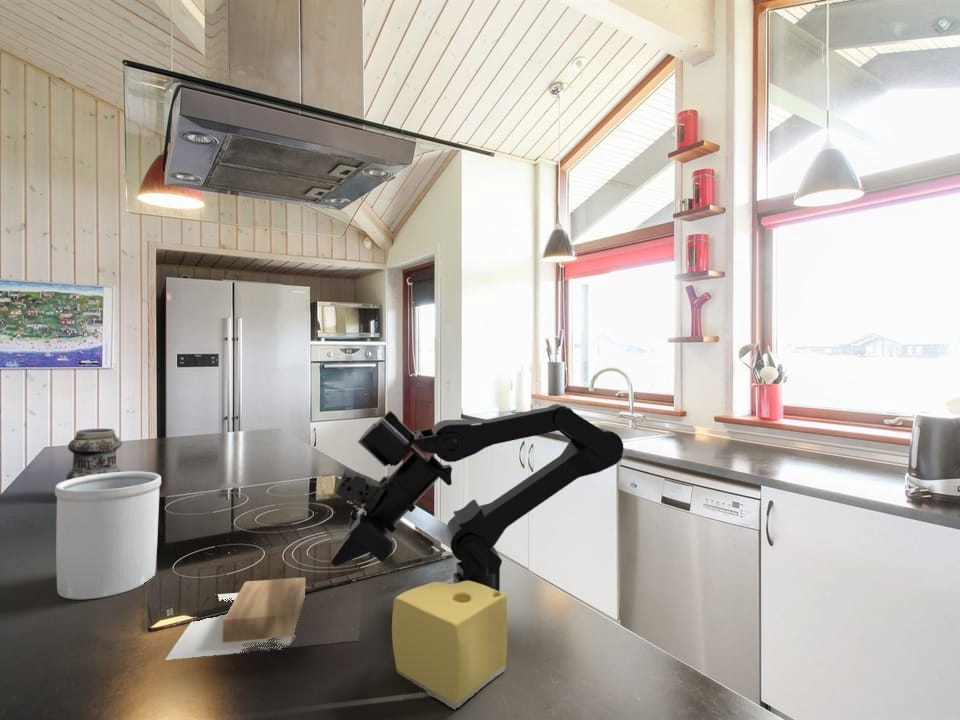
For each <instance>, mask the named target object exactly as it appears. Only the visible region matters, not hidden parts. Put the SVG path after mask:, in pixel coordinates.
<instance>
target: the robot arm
mask: <svg viewBox="0 0 960 720" xmlns="http://www.w3.org/2000/svg"><path fill="white" fill-rule="evenodd" d="M555 432H559V433H561V435H563V436H564V437H565V438H566V439H568V440H570V441H569V442H568V444H567V445H566V447H565V448H564V449H563V451H562V453H560V454H559V456H557V457H556V458H555V459H553V460H552V461H550V462H549V463H547V464H545V466H543V467H541V468H539V469H538V470H537V471H535V472H534V473H533V474H531V475H530V476H528V477H526V478H525V479H524V480H522V481H521V482H519V483H518V484H516V485H515V486H514V487H512V488H511V489H509V490H508V491H506V492H505V493H503V494H501V495H500V496H499V497H497V498H496V499H494V500H493V501H491V502H489V503H486V504H481V505H479V503H478V501H476V499H472V500H470V501H469V502H468V503H467V504H466V505H464V507H463V508H461V509H459V510H455V511H453V516H452V518H451V519H449V521H448V523H447V526H446V530H445V536H446V539H447V541H448V545H449V547H450V550H451V553H452V555H453V556H454V557H455V559H456V560H458V562H456V572H455V573H453V581H452V582H453V583H452V584H454V583H459V582H462V581H472V582H476V583H479V584H482V585H485V586H487V587H490V588H492V589H494V590H497V591H499V592H501V589H500V588H501V587H500V586H501V584H500V583H501V580H500V578H501V573H500V572H501V566H502V563H503V560H502V558H501V557H500V555H499V553H498V551H497V550H496V547H495V546H496V544H497V542H498V541H499V539H501V537H502V535H503V534H504V532H505V531H506V530H507V528H508V527H510V526H511V525H513V524H514V523H515V522H516V521H518V520H520V519H521V518H523V517H524V516H525V515H527V514H528V513H530V512H531V511H533V510H534V509H536V508H537V507H538V506H539V505H541V504H543V503H544V502H546V501H547V500H548V499H550V498H551V497H553V496H554V495H555V494H557V493H558V492H560V491H561V490H563V489H564V488H566V487H567V486H569V485H570V484H571V483H573V482H574V481H576V480H577V479H579V478H582V477H586V476H589V475H594V474H598V473H601V472H603V471H604V470H606V469H609V468H611V467H613V466H615V465H617V464H618V463H620V461H621V460H622V458H623V456H624V455H623V453H624V442H623V441H622V438H621V436H619V434H618V433H616V432H614V431H611V430H607V429H605V428H603V427H599V426H596V425H594V424H593V423H591V422H590V421H588V420H586V419H585V418H583V417H582V416H580V415H579V414H577V413H576V412H574V411H573V409H572V408H570V407H569V406H566V405H563V404H559V403H558V404H557V403H556V404H554V403H553V404H552V405H550V406H549V405H548V406H547V407H543V408H536V409H531V410H528V411H527V410H526V411H523V412H522V411H521V412H517V413H512V414H508V415H502V416H499V417H493V418H488V419H443V420H441V421H439V422H437V423H436V424H434V426H433V427H432V428H427V429H422V430H415V431H411V430H410V429H409V428H408V427H407V426H406V425H405V424H404V423H403V422H402V421H401V420H400V419H399V418H398V417H397V415H396V414H395V413H394V412H393V410H388V411H387V413H385V415H383V416H382V417H381V418H379V420H378V421H376V422H373V424H372V425H371V426H370V427H368V428H367V430H366V431H365V432H364V433H363V434H362V435H361V436H360V438H359V439H358V440H357V443H358V444H359V445H360V446H361V447H362V448H364V449H365V451H367V452H368V453H369V454H370V455H371V456H372V457H373V458H375V459H376V460H377V461H378V462H379V463H380V464H381V465H382V466H383V467H387V466H389V465H390V466H391V467H392V466H393V467H396V466H398V464H400V463H401V462H402V461H403V460H404V461H403V462H402V463H401V464H400V465H399V466H398V467H397V468H396V470H395V471H393V472H392V474H390V476H389V475H386V476H385V475H383V477H382V478H381V479H380V480H377V479H374V478H372V477H371V476H368V475H365V474H364V473H361V472H358V471H356V470H353V469H350V468H345V469H344V471H343V473H342V475H341V477H340V480H339V482H338V483H337V486H336V489H335V491H334V493H335V494H336V495H337V496H338V497H339V496H340V497H341V498H347V499H350V500H353V501H354V503H355V504H356V505H358V504H361V508H360V509H359V510H358V512H357V511H355V510H354V509H352V510H351V514H350V521H349V530H348V531H347V533H346V535H345V536H344V538H343V540H342V542H341V543H340V544H339V547H338V548H337V549H336V551H335V552H334V555H333V556H332V558H331V560H330V563H331V564H332V565H333V566H334V567H338V566H340V565H343V564H345V563H347V562H350V561H353V560H355V559H357V558H359V557H362V556H365V555H366V554H371V555H372V556H373V557H375V558H376V559H377V560H378V561H379V562H381V563H384V562H385V561H386V560H387V559H388V558H389V556H391V555H392V553H393V552H394V551H393V548H394V547H393V545H394V544H393V533H394V532H395V531H396V530H397V524H398V523H399V522H400V521H401V519H403V517H404V516H405V515H406V514H407V513H408V512H410V513H412V512H414V510H415V509H416V508H417V507H416V503H417V502H418V501H419V500H420V499H421V498H422V497H423V495H424V494H425V493H427V491H428V490H429V489H430V488H431V487H432V486H433V485H434V484H435V483H436V482H437V481H438V479H440V480H442V481H443V483H445V484H446V485H447V486H451V485H452V472H453V467H452V466H451V464H442V463H441V462H440V461H439V460H438V459H437V458H436V457H435V456H434V455H436V456H437V457H438V458H439V459H441V460H442V461H444V462H447V463H453V462H454V463H455V462H459V461H461V460H464V459H466V458H468V457H471V456H474V455H475V454H478V453H479V452H481V451H482V450H484V449H486V448H488V447H491V446H494V445H497V444H502V443H506V442H512V441H517V440H520V439H525V438H531V437H535V436H541V435H544V434H548V433H555ZM413 445H415V446H413ZM416 447H417V448H418V449H419V450H420V451H421V452H422V453H427V455H424V454H422V453H421V452H420V451H419V450H418V449H417V448H416ZM410 452H412V453H410ZM409 453H410V454H409ZM408 454H409V456H408V457H407V455H408ZM433 454H434V455H433ZM405 458H406V459H405Z"/></svg>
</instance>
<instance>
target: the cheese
mask: <svg viewBox="0 0 960 720" xmlns="http://www.w3.org/2000/svg"><path fill="white" fill-rule="evenodd" d="M507 599H508V598H507V594H505V593H504V592H501V591H500V592H499V591H497V590H494V589H492V588H490V587H487V586H485V585H482V584H479V583H476V582H472V581H462V582H459V583H454V584H453V583H445V582H442V581H432V582H429V583H426V584H423V585H421V586H417V587H414V588H412V589H409V590H407V591H404V592H402V593H401V594H398V595H397V596H395V597H394V599H393V606H392V617H391V638H392V639H391V640H392V648H393V649H392V650H393V656H394V661H395V662H394V663H395V669H397V670H399V671H400V672H402V673H404V674H405V675H406V676H409V677H410V678H412V679H414V680H416V681H417V682H419V683H420V684H422V685H424V686H426V687H427V688H429V689H430V690H432V691H434V692H436V693H438V694H439V695H441V696H443V697H445V698H447V699H449V700H451V701H452V702H454V703H457V702H459V701H460V700H462V699H463V698H464V697H466V696H467V695H468V694H469V693H471V692H472V691H473V690H474V689H475V688H476V687H478V685H479V684H481V683H482V682H483V681H484V680H485V679H487V678H488V677H489V676H491V675H492V674H493V673H495V672H496V671H498V670H499V669H500V668H502V667H503V666H505V665H506V666H507V658H508V657H507V654H508V653H507V652H508V651H507V650H508V600H507ZM397 670H396V671H397Z"/></svg>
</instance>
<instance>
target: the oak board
mask: <svg viewBox="0 0 960 720" xmlns="http://www.w3.org/2000/svg"><path fill="white" fill-rule="evenodd" d="M305 588H306V577H305V576H304V577H292V578H276V579H275V578H274V579H265V580H250V581H249V580H248V581H245V582H244V584H243V585H242V587H241V588H240V590H239V592H238V593H239V594H238V595H237V597H236V599H235V600H234V602H233V604H232V606H231V607H230V609H229V611H228V613H227V614H226V616H225V618H224V619H223V642H233V641H244V640H254V639H265V638H276V637H287V636H294V632H295V628H296V625H297V622H298V618H299V615H300V611H301V608H302V604H303V601H304V598H305Z"/></svg>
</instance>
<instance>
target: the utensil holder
mask: <svg viewBox="0 0 960 720" xmlns="http://www.w3.org/2000/svg"><path fill="white" fill-rule="evenodd" d="M161 485H162V476H161V475H160V474H158V473H156V472H151V471H139V470H138V471H136V470H135V471H133V470H132V471H121V472H112V473H103V474H95V475H88V476H82V477H77V478H73V479H69V480H67V479H66V480H64V481H61V482H58V483H57V484H55V487H54V495H55V497H56V530H55V532H56V535H55V537H56V539H55V540H56V542H55V543H56V544H55V545H56V546H55V547H56V551H55V552H56V553H55V554H56V555H55V560H56V563H55V564H56V565H55V566H56V567H55V568H56V590H57V594H58V595H59V596H60V597H62V598H65V599H69V600H92V599H93V600H94V599H100V598H106V597H110V596H111V597H112V596H115V595H119V594H123V593H126V592H130V591H131V590H134V589H136V588H139V587H141V586H143V585H145V584H146V583H145V582H147V581H148V580H149V579H151V578H152V577H153V576H154V577H155V575H156V565H157V555H158V554H157V553H158V552H157V551H158V550H157V549H158V533H159V532H158V531H159V529H158V528H159V512H160V511H159V510H160V509H159V507H160V487H161ZM154 577H153V578H154ZM153 578H152V579H153ZM152 579H151V580H152ZM149 581H150V580H149ZM149 581H148V582H149ZM148 582H147V583H148ZM144 583H145V584H144Z"/></svg>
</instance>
